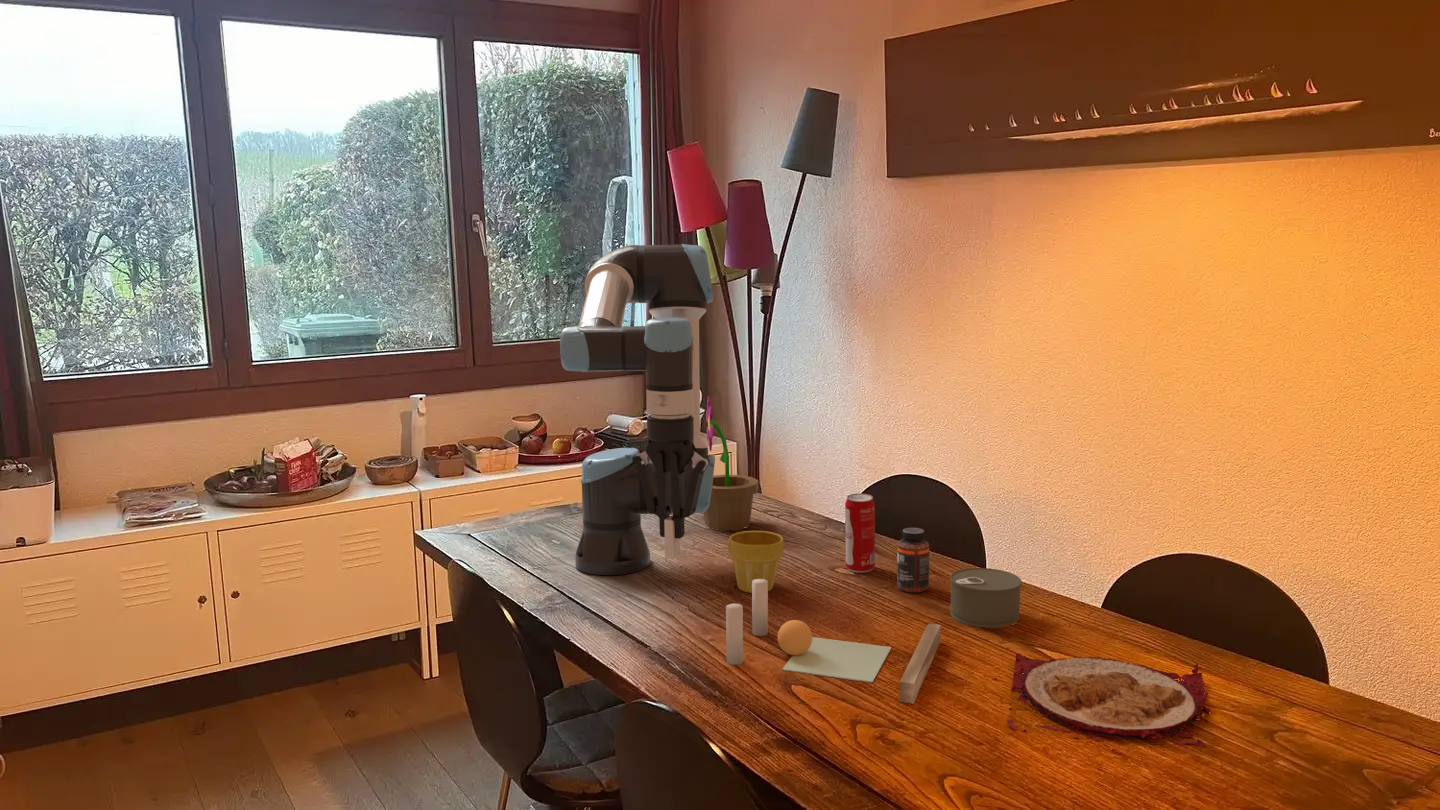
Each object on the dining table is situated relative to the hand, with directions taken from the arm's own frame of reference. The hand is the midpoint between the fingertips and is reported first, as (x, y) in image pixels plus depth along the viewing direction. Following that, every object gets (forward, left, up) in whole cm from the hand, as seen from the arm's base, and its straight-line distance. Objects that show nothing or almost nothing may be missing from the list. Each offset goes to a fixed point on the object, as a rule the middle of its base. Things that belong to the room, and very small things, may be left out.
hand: (672, 556), depth 173 cm
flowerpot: (-15, +67, -14) cm, 70 cm away
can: (+47, +27, -14) cm, 56 cm away
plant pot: (+5, +28, -14) cm, 32 cm away
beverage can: (+21, +45, -14) cm, 52 cm away
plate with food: (+68, -3, -15) cm, 70 cm away
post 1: (+13, -6, -14) cm, 20 cm away
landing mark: (+28, 0, -14) cm, 31 cm away
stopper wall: (+41, 0, -14) cm, 43 cm away
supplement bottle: (+33, +37, -14) cm, 52 cm away
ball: (+21, 0, -11) cm, 24 cm away
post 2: (+13, +6, -14) cm, 20 cm away
